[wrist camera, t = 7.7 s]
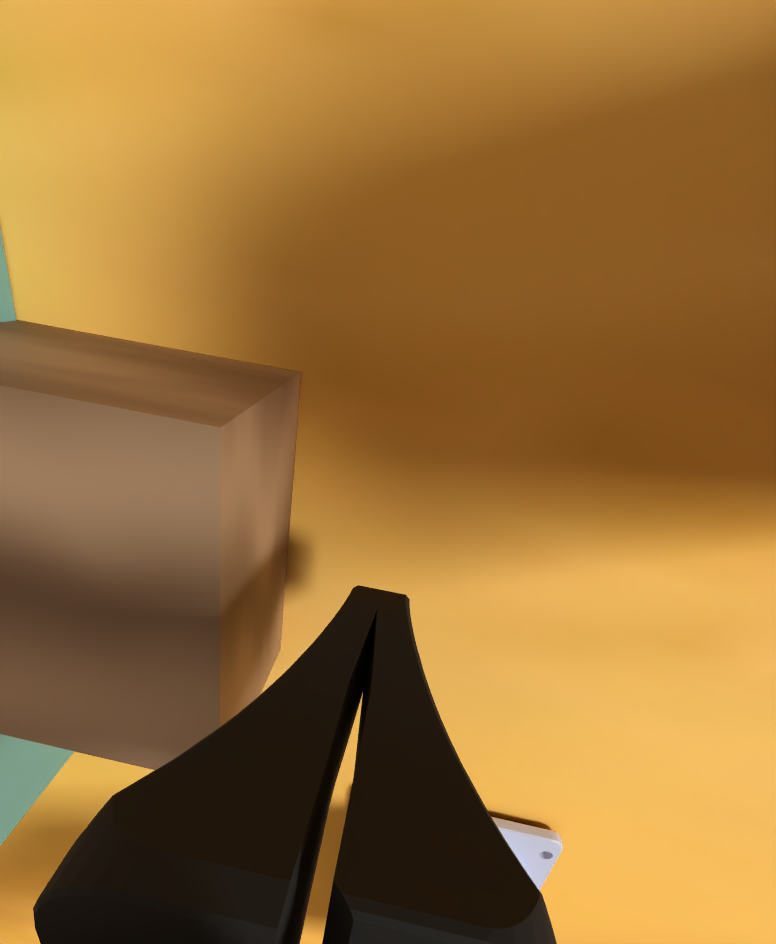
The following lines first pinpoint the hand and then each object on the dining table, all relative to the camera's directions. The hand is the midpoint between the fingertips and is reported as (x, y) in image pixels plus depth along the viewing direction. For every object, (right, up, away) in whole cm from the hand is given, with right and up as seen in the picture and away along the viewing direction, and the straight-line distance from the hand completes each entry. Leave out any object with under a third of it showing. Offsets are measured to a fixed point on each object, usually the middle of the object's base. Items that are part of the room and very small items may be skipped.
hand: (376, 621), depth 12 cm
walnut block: (-7, +3, +3) cm, 8 cm away
